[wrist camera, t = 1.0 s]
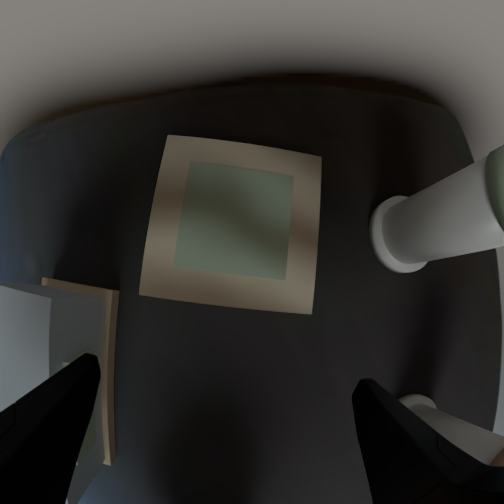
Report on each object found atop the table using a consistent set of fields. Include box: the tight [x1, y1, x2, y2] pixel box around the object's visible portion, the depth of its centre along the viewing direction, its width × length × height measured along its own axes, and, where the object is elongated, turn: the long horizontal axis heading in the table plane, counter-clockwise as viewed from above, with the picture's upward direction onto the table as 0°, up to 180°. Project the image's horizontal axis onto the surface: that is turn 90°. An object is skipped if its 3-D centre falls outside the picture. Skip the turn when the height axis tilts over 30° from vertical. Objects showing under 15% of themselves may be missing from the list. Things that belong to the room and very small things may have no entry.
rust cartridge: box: [399, 394, 504, 466], centre depth 13 cm, size 6×6×13 cm
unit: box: [0, 277, 120, 504], centre depth 13 cm, size 13×6×8 cm, turn 174°
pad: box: [139, 135, 322, 314], centre depth 20 cm, size 11×11×1 cm
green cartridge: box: [369, 145, 504, 273], centre depth 15 cm, size 6×6×13 cm
